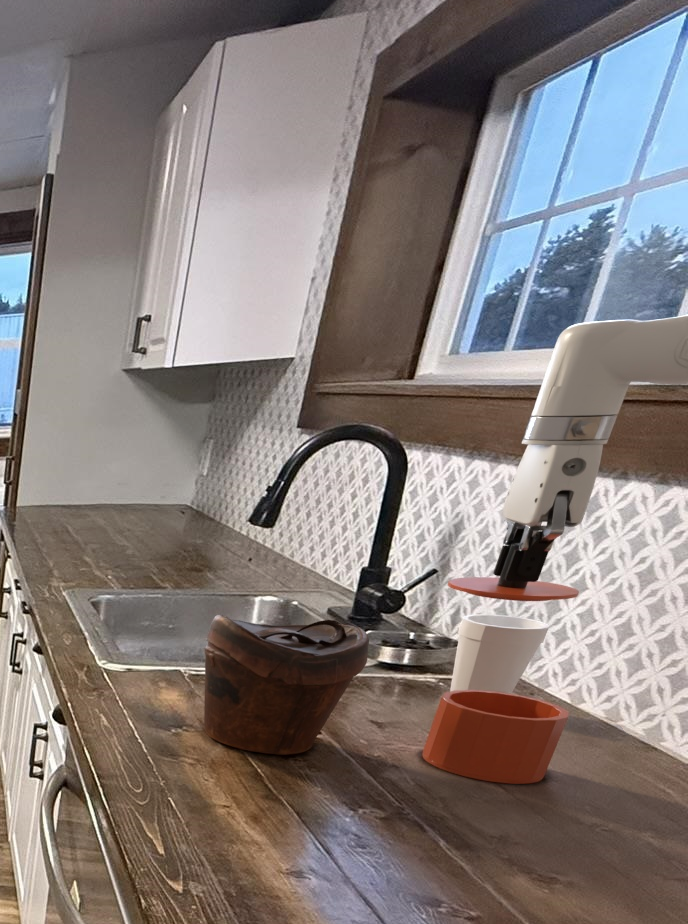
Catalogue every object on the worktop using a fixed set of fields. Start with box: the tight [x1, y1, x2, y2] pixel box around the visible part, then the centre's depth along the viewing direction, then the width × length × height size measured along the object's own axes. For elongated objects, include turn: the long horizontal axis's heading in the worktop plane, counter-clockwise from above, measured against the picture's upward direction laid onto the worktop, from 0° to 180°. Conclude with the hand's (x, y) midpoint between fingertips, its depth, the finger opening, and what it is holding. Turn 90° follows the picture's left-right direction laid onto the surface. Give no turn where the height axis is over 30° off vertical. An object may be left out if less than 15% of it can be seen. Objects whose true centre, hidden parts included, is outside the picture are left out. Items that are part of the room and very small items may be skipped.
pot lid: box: [447, 543, 580, 602], centre depth 109 cm, size 13×13×7 cm
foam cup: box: [449, 613, 550, 694], centre depth 126 cm, size 10×9×13 cm
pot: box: [422, 690, 570, 785], centre depth 106 cm, size 12×12×8 cm
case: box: [203, 614, 370, 756], centre depth 115 cm, size 18×20×18 cm
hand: (514, 577), depth 110 cm, fingers closed on pot lid, 2 cm apart
